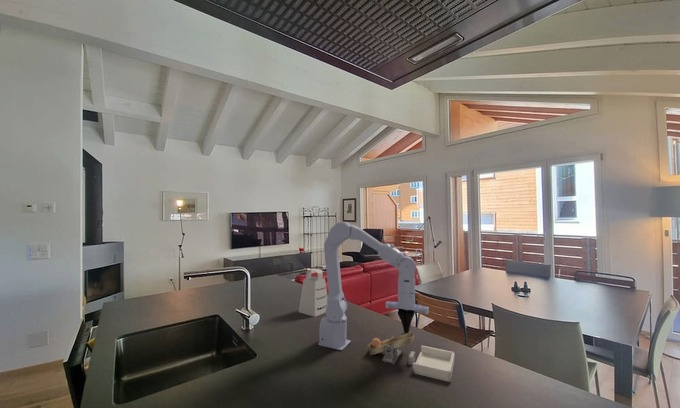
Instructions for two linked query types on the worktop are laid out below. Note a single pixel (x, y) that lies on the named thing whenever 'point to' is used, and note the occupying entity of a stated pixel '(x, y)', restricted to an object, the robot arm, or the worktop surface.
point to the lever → (392, 343)
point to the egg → (376, 342)
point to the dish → (435, 363)
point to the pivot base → (396, 355)
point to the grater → (313, 294)
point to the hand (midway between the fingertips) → (406, 331)
